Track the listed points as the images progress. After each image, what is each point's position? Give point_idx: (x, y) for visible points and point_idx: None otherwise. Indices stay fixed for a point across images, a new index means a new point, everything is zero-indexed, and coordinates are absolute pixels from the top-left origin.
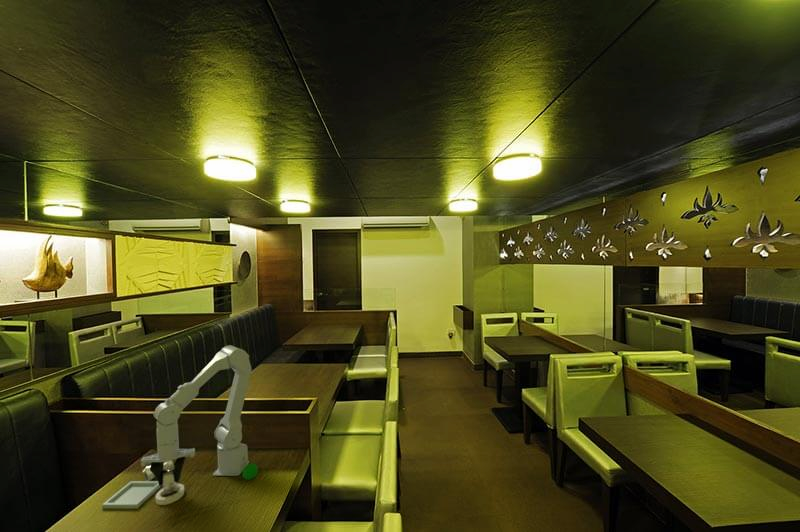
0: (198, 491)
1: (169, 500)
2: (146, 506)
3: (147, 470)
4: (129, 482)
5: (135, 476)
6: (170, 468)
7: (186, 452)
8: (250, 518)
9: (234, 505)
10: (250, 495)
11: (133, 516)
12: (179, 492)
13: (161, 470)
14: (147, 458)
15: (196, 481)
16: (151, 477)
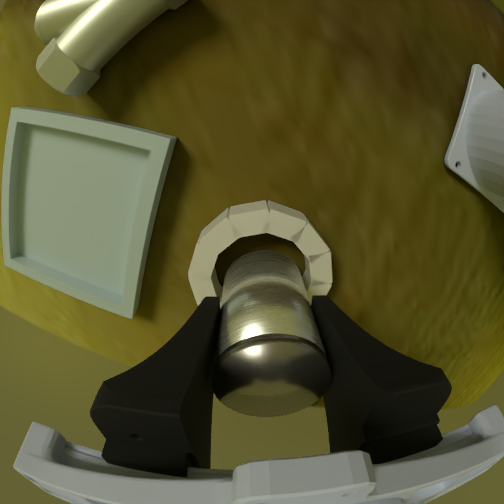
0: (386, 269)
1: None
2: (170, 303)
3: (44, 65)
4: (10, 118)
5: (24, 37)
6: (276, 371)
7: (449, 479)
8: (460, 395)
9: (457, 362)
10: (494, 332)
11: (150, 342)
12: None
13: (206, 391)
14: (70, 496)
15: (373, 173)
16: (88, 81)
